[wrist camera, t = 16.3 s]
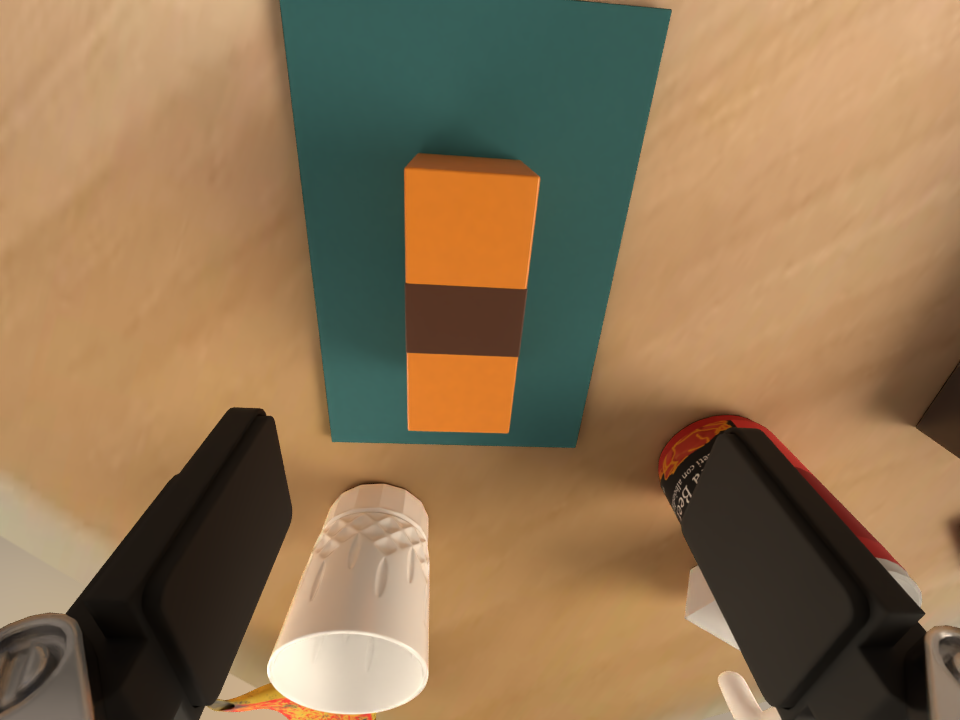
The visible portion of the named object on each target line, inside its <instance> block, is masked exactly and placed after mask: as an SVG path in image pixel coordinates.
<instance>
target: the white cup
mask: <svg viewBox="0 0 960 720" xmlns="http://www.w3.org/2000/svg"><path fill="white" fill-rule="evenodd" d="M429 595H430V581H429V553H428V515H427V513H426V511H425V508H424V506H423V504H422V502H421V501H420V500H419V499H417V498H416V497H415V496H413V495H412V494H411V493H409V492H408V491H407V490H405V489H402V488H398V487H395V486H391V485H388V484H364V485H359V486H357V487H355V488H352V489H350V490H348V491H346V492H343V493H342V494H341V495H340V496H339V497H338V498H337V500H336V501H335V502H334V503H333V505H332V506H331V507H330V510H329V512H328V515H327V518H326V520H325V523H324V526H323V528H322V531H321V533H320V535H319V537H318V539H317V541H316V543H315V545H314V547H313V550H312V553H311V555H310V559H309V561H308V563H307V565H306V567H305V569H304V572H303V574H302V577H301V579H300V582H299V584H298V587H297V590H296V592H295V595H294V597H293V600H292V603H291V605H290V608H289V610H288V613H287V616H286V618H285V621H284V623H283V626H282V629H281V631H280V634H279V636H278V639H277V641H276V644H275V647H274V649H273V652H272V654H271V657H270V659H269V662H268V666H267V673H268V677H269V680H270V682H271V684H272V685H273V686H274V688H275V689H276V690H277V691H278V692H279V693H281V694H282V695H283V696H284V697H286V698H288V699H289V700H291V701H293V702H295V703H297V704H299V705H302V706H304V707H307V708H310V709H314V710H318V711H322V712H328V713H335V714H369V713H376V712H381V711H386V710H389V709H393V708H396V707H398V706H401V705H403V704H405V703H407V702H409V701H410V700H412V699H413V698H415V697H416V696H417V695H418V694H419V693H420V692H421V691H422V690H423V689H424V687H425V685H426V683H427V680H428V668H429Z"/></svg>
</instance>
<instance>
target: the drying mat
mask: <svg viewBox="0 0 960 720" xmlns="http://www.w3.org/2000/svg"><path fill="white" fill-rule="evenodd" d="M280 9H281V17H282V26H283V34H284V42H285V51H286V59H287V68H288V76H289V84H290V93H291V101H292V110H293V118H294V126H295V135H296V143H297V152H298V160H299V168H300V177H301V185H302V194H303V202H304V210H305V219H306V227H307V236H308V244H309V252H310V261H311V269H312V278H313V286H314V294H315V303H316V311H317V320H318V328H319V336H320V345H321V353H322V362H323V370H324V378H325V387H326V395H327V404H328V412H329V420H330V429H331V437H332V442H360V443H400V444H440V445H480V446H521V447H561V448H575V447H576V443H577V439H578V434H579V430H580V425H581V420H582V416H583V411H584V407H585V402H586V398H587V393H588V389H589V384H590V380H591V375H592V370H593V366H594V361H595V357H596V352H597V348H598V343H599V339H600V334H601V330H602V325H603V321H604V316H605V311H606V307H607V302H608V298H609V293H610V289H611V284H612V280H613V275H614V271H615V266H616V261H617V257H618V252H619V248H620V243H621V239H622V234H623V230H624V225H625V221H626V216H627V211H628V207H629V202H630V198H631V193H632V189H633V184H634V180H635V175H636V171H637V166H638V162H639V157H640V152H641V148H642V143H643V139H644V134H645V130H646V125H647V121H648V116H649V112H650V107H651V102H652V98H653V93H654V89H655V84H656V80H657V75H658V71H659V66H660V62H661V57H662V53H663V48H664V43H665V39H666V34H667V30H668V25H669V21H670V16H671V12H672V10H671V9H661V8H651V7H640V6H630V5H620V4H609V3H599V2H588V1H578V0H280ZM418 153H425V154H439V155H454V156H468V157H482V158H497V159H511V160H520V161H522V162H523V163H524V164H525V165H527V166H528V167H529V168H530V169H531V170H532V171H534V172H535V173H536V174H537V175H538V176H540V186H539V194H538V202H537V210H536V218H535V226H534V234H533V243H532V251H531V259H530V267H529V275H528V283H527V290H528V291H527V299H526V307H525V315H524V323H523V331H522V339H521V347H520V355H519V357H518V363H517V371H516V379H515V387H514V395H513V403H512V412H511V420H510V428H509V432H508V433H477V432H439V431H409V430H408V419H407V353H406V341H405V281H406V278H405V208H404V168H405V167H406V166H407V165H408V164H409V162H410V161H411V160H412V159H413V158H414V157H415V156H416V155H417V154H418Z"/></svg>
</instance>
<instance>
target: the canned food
mask: <svg viewBox="0 0 960 720" xmlns="http://www.w3.org/2000/svg"><path fill="white" fill-rule="evenodd" d="M731 427H738V428H757V429H760V430H761V431H763V432H764V433H765V434H766V435H767V437H768V438H769V439H770V440H771V441H772V442H773V443H774V444H775V445H776V447H777V448H778V449H779V450H780V451H781V452H782V453H783V454H784V456H785V457H786V458H787V459H788V460H789V461H790V462H791V463H792V465H793V466H794V467H795V468H796V469H797V470H798V471H799V472H800V473H801V475H802V476H803V477H804V478H805V479H806V480H807V481H808V482H809V484H810V485H811V486H812V487H813V488H814V489H815V490H816V491H817V493H818V494H819V495H820V496H821V497H822V498H823V499H824V500H825V501H826V503H827V504H828V505H829V506H830V507H831V508H832V509H833V510H834V512H835V513H836V514H837V515H838V516H839V517H840V518H841V519H842V521H843V522H844V523H845V524H846V525H847V526H848V527H849V528H850V530H851V531H852V532H853V533H854V534H855V535H856V536H857V537H858V538H859V540H860V541H861V542H862V543H863V544H864V545H865V546H866V547H867V549H868V550H869V551H870V552H871V553H872V554H873V555H874V556H875V558H876V559H877V560H878V561H879V562H880V563H881V564H882V565H883V566H884V568H885V569H886V570H887V571H888V572H889V573H890V574H891V575H892V577H893V578H894V579H895V580H896V581H897V582H898V583H899V584H900V586H901V587H902V588H903V589H904V590H905V591H906V592H907V593H908V595H909V596H910V597H911V598H912V599H913V600H914V601H915V602H916V603H917V605H918V606H919V607H921V604H922V595H921V591H920V589H919V587H918V586H917V584H916V583H915V582H914V581H913V580H912V579H911V578H910V576H909V575H908V573H907V571H906V570H905V569H904V568H903V567H902V566H901V565H900V564H899V563H898V562H897V561H896V560H895V559H894V558H893V557H892V556H891V555H890V554H889V552H888V551H887V550H886V549H885V548H884V547H883V546H882V545H881V544H880V543H879V542H878V541H877V540H876V539H875V538H874V537H873V536H872V535H871V534H870V533H869V532H868V531H867V530H866V528H865V527H864V526H863V525H862V524H861V523H860V522H859V521H858V520H857V519H856V518H855V517H854V516H853V515H852V514H851V513H850V512H849V511H848V510H847V509H846V508H845V507H844V506H843V505H842V504H841V503H840V502H839V501H838V500H837V499H836V498H835V497H834V496H833V495H832V494H831V493H830V492H829V491H828V490H827V489H826V488H825V487H824V486H823V484H822V483H821V482H820V481H819V480H818V479H817V478H816V477H815V476H814V475H813V474H812V473H811V472H810V471H809V470H808V469H807V468H806V467H805V466H804V465H803V464H802V463H801V462H800V461H799V460H798V459H797V458H796V457H795V456H794V455H793V454H792V453H791V452H790V451H789V450H788V449H787V448H786V447H785V446H784V445H783V444H782V443H781V442H780V441H779V439H778V438H777V437H776V436H775V435H774V434H773V433H771V432H770V431H769V430H768V429H767V428H765V427H763V426H762V425H760V424H758V423H756V422H754V421H752V420H750V419H748V418H744V417H740V416H735V415H720V416H713V417H709V418H705V419H702V420H699V421H697V422H695V423H692V424H690V425H689V426H687V427H685V428H684V429H682V430H681V431H680V432H678V433H677V434H676V435H675V436H673V438H672V439H671V440H670V441H669V442H668V443H667V444H666V446H665V448H664V450H663V451H662V453H661V456H660V459H659V465H658V472H659V479H660V484H661V488H662V490H663V492H664V494H665V496H666V497H667V499H668V501H669V503H670V505H671V507H672V509H673V511H674V513H675V514H676V516H677V518H678V520H679V522H680V524H681V521H682V517H683V515H684V513H685V510H686V508H687V505H688V503H689V501H690V498H691V496H692V494H693V491H694V489H695V487H696V484H697V482H698V480H699V477H700V475H701V473H702V470H703V468H704V466H705V463H706V461H707V459H708V456H709V454H710V452H711V449H712V447H713V445H714V442H715V440H716V438H717V436H718V435H720V434H723V433H724V432H725V430H726V429H728V428H731Z"/></svg>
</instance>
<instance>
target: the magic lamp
mask: <svg viewBox="0 0 960 720" xmlns="http://www.w3.org/2000/svg"><path fill="white" fill-rule="evenodd" d="M208 707H209V708H210V709H212V710H214V711H223V712H240V711H248V710H254V709H271V710H275V711H278V712H280V713H282V714H283V715H284V716H286V717H287V719H288V720H376V713H369V714H335V713H328V712H322V711H318V710H314V709H310V708H307V707H304V706H302V705H299V704H297V703H295V702H293V701H291V700H289V699H288V698H286V697H284V696H283V695H282V694H281V693H279V692H278V691H277V690H276V689H275V688H274V686H273V685H272V684H271V683H269V684H267V685H264V686H262V687H259V688H257V689H255V690H253V691H251V692H248V693H246V694H244V695H242V696H239V697H237V698H233V699H230V700H220V699H217V700H216V701H215V702H214V703H213V704H212V705H210V706H208Z"/></svg>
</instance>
